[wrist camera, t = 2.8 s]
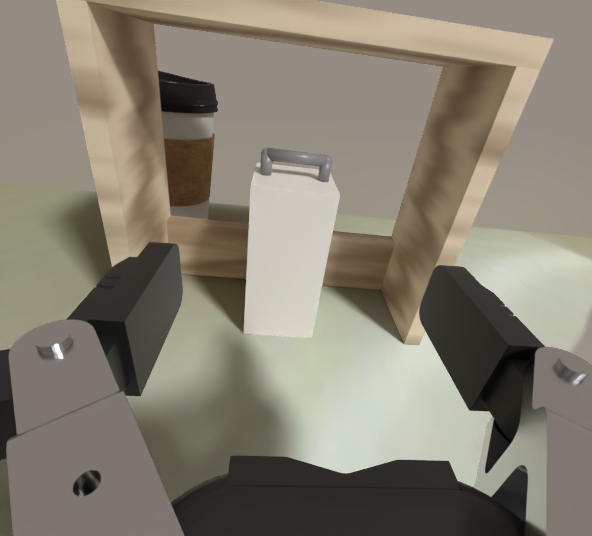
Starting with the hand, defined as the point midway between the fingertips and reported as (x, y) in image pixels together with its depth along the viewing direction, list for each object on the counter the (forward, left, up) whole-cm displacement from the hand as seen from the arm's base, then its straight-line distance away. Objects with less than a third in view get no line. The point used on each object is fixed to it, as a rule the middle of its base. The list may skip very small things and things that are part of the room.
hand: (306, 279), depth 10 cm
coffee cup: (-26, +10, -11) cm, 30 cm away
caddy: (-8, +8, -11) cm, 16 cm away
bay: (-9, +9, -11) cm, 17 cm away
